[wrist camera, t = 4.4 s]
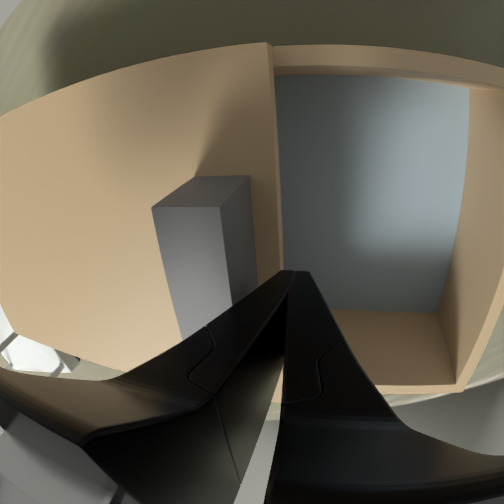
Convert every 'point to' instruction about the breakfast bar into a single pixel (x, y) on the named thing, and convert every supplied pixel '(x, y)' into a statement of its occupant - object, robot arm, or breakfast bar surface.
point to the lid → (141, 204)
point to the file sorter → (32, 353)
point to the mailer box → (396, 203)
